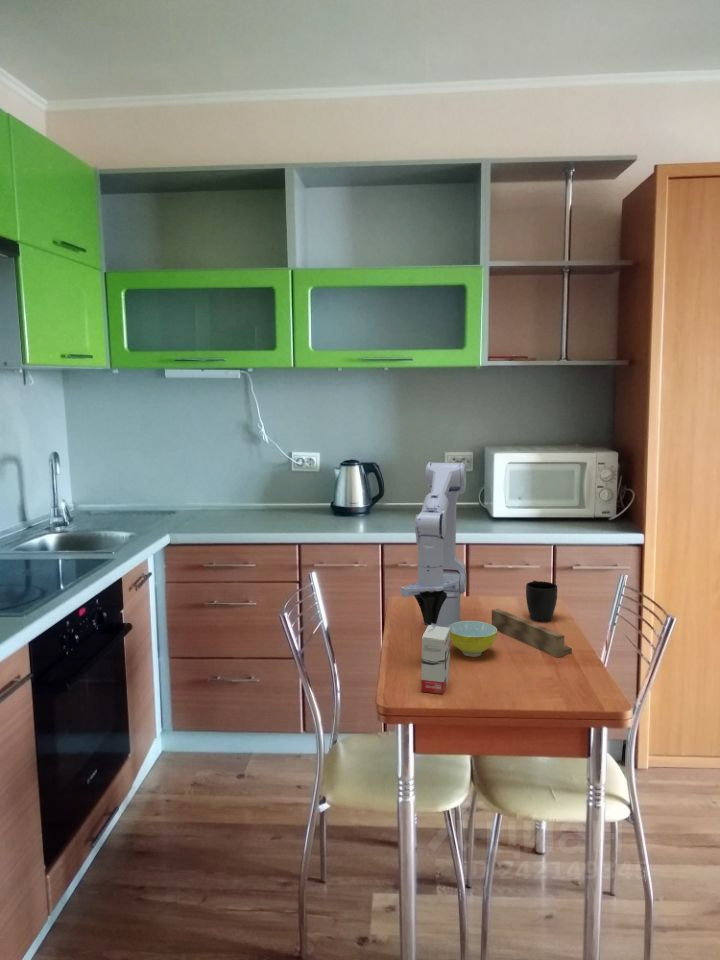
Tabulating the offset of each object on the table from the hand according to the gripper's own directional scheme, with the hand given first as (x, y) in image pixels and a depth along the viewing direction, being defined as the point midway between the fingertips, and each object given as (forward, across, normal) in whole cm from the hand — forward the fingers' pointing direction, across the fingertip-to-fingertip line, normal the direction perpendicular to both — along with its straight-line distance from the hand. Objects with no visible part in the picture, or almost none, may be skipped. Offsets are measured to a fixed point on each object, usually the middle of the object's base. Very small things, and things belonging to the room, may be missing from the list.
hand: (430, 623), depth 158 cm
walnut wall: (+9, +30, 0) cm, 31 cm away
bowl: (+10, +12, 0) cm, 15 cm away
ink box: (+10, -6, -11) cm, 16 cm away
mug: (+10, +45, +13) cm, 48 cm away
